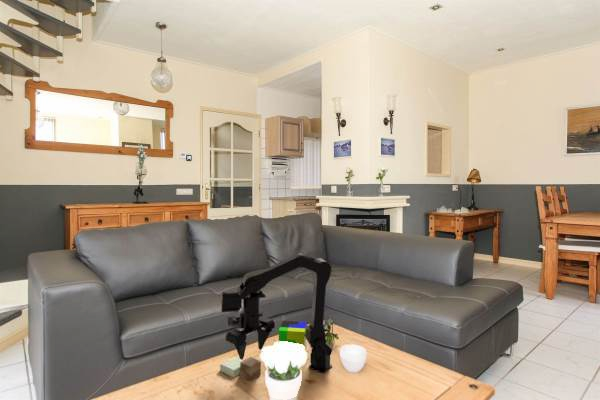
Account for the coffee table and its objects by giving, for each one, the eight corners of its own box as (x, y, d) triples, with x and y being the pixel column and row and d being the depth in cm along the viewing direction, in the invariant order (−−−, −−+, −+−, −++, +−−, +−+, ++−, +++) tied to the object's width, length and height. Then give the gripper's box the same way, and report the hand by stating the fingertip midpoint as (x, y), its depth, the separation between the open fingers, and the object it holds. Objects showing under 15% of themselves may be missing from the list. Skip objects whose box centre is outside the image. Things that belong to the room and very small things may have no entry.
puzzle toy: (306, 345, 151) (306, 322, 150) (303, 357, 141) (304, 332, 141) (282, 344, 152) (282, 320, 151) (278, 355, 142) (278, 330, 142)
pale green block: (248, 369, 131) (248, 362, 131) (233, 377, 126) (233, 370, 126) (234, 362, 136) (234, 356, 135) (220, 370, 130) (220, 363, 130)
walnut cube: (260, 374, 128) (260, 361, 128) (250, 381, 124) (250, 366, 124) (250, 370, 131) (250, 356, 131) (240, 376, 127) (240, 362, 127)
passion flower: (316, 352, 157) (314, 323, 163) (341, 349, 155) (338, 320, 162) (312, 347, 147) (309, 317, 154) (338, 344, 146) (335, 314, 152)
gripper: (253, 298, 138) (253, 338, 139) (214, 312, 123) (214, 357, 124) (275, 304, 132) (275, 347, 133) (237, 320, 117) (237, 367, 118)
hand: (251, 354), depth 127 cm, fingers open, 9 cm apart
